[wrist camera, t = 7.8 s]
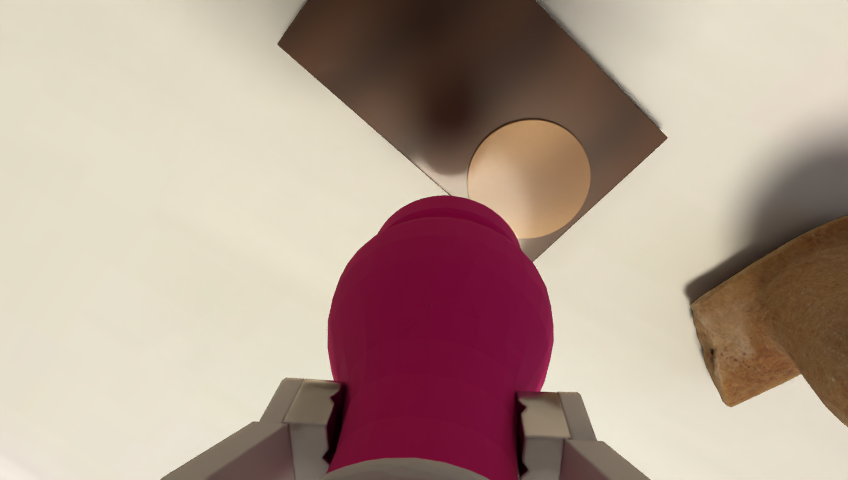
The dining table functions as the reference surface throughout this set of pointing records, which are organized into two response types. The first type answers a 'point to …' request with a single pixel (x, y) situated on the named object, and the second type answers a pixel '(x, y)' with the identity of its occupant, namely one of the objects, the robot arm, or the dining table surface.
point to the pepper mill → (437, 346)
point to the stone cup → (782, 321)
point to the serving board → (481, 102)
